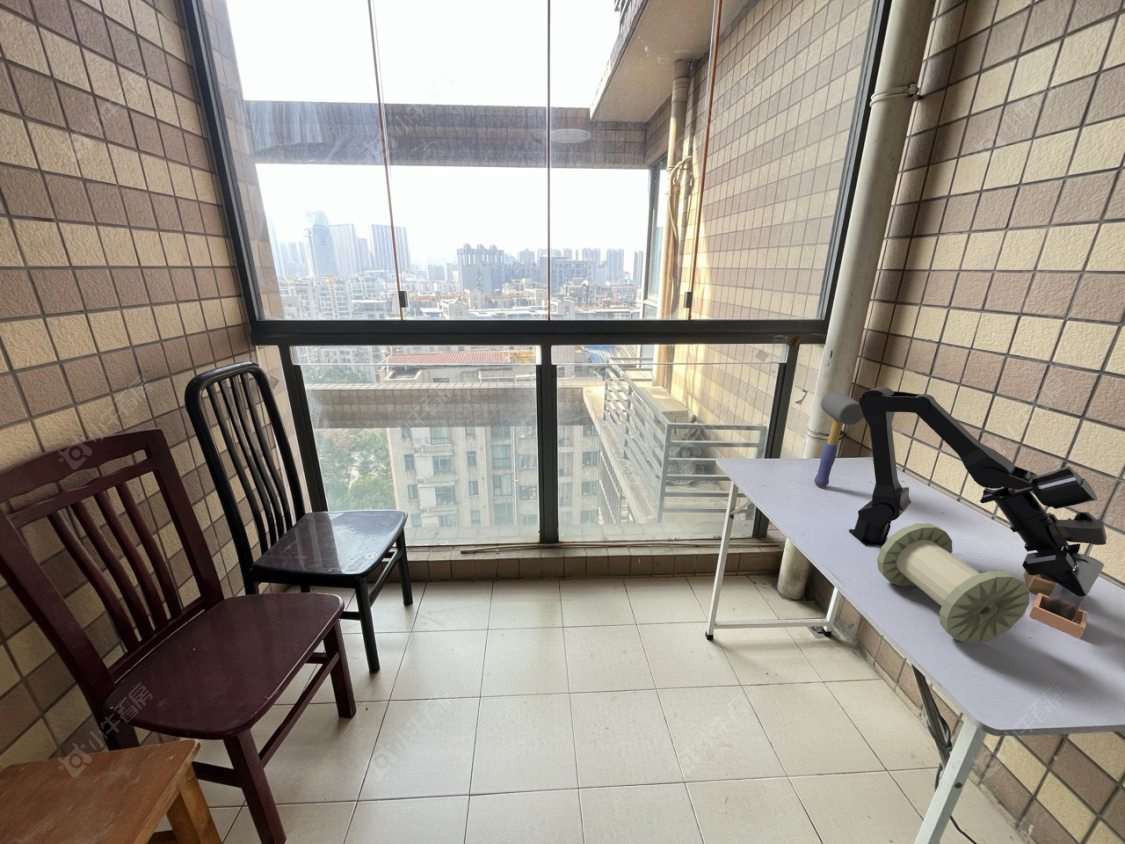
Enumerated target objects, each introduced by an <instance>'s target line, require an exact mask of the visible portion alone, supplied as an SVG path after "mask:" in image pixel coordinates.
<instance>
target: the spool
mask: <svg viewBox="0 0 1125 844" xmlns="http://www.w3.org/2000/svg"><path fill="white" fill-rule="evenodd" d="M952 553H953V540H952V539H951V537H950V535H949V534H948V533H947V531H945V530H944V529H943V528H941V527H938V526H936V525H934V524H932V523H927V522H925V523H924V522H922V523H920V522H919V523H916V522H915V523H914V524H911V525H907V526H905V527H902V528H900V530H898V531H896V532H895V533H894V534H892V535H891V536H890V537H888V539H886V542H885V544H884V545H883V546H881V548H880V550H879V553H878V555H877V558H876V562H877V569H878V572H879V573H880V574H881V575H882V576H883V577H884V579H886V580H887V581H888V582H889V583H891V584H893V585H897V586H899V587H908V585H909V587H911V586H910V585H914V586H916V587H918V588H919V589H920V590H921V591H923V592H924V593H925V594H926V595H927V596H929V597H930V598H931V599H932V600H933V601H934V602H936V603H937V604H938V605H939V606H941V608H940V610H939V624H940V625H941V627H942V628H943V629H944V631H945V632H946V633H947V634H948V635H949V636H951V637H952V638H953V640H954V639H955V640H957V641H959V642H962V643H967V644H968V643H969V644H970V643H983V642H986V641H988V640H989V641H990V640H993V639H994V638H997V637H999V636H1000V635H1003V634H1004V633H1006V632H1008V631H1009V630H1010V629H1012V628H1013V627H1014V626H1015V625H1016V624H1017V623H1018V622H1019V621H1020V620H1021V619H1022V617H1024V615H1025V613H1026V610H1027V609H1028V607H1029V605H1030V599H1031V598H1030V597H1031V593H1030V591H1029V589H1028V587H1027V586H1026V584H1025V581H1024V580H1022V579H1020V578H1019V577H1018V576H1015V575H1013V574H1011V573H1009V572H1006V571H1004V570H991V571H990V570H988V571H985V572H983V573H980V572H979V571H977V570H976V569H974V567H971V566H969V565H968V564H967V563H965V562H964V561H963V560H961V559H959V558H958V557H957V556H955V555H954V554H952Z"/></svg>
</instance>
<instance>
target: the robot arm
mask: <svg viewBox="0 0 1125 844" xmlns="http://www.w3.org/2000/svg"><path fill="white" fill-rule="evenodd" d="M858 403H859V406H860V409H861V412H862V415H863V418H864V420H865V422H866V424H867V425H868V428H869V434H870V436H869V437H870V443H871V444H870V445H871V451H872V452H871V453H872V461H873V471H874V480H875V484H874V489H873V491H872V495H871V496H872V497H871V500H870V501H869V502H867V503H866V504H865V505H864V506H862V507H861V508H860V509H859V510H858V511H857V514H858V517H857V520H856V523H855V527H854V528H853V529H852V528H850V529H848V532H849V533H850V534H851V535H853V537H854V538H856V539H857V540H858V541H860V542H861V543H862V544H863V545H864V546H867V547H869V546H870V547H871V546H872V547H873V546H875V547H876V546H877V547H878V546H881V547H882V546H883V545H884V544H885V542H886V541H887V540H888V539H887V538H888V535H889V533H890V531H891V530H890V529H891V528H892V526H891V525H892V524H891V523H892V521H896V520H897V519H898V518H899V517H901V516H902V515H903V514H904V513H905V512H906V510H907V509H908V507H909V505H911V504H912V501H911V499H910V496H909V495H910V487H908V486H906V487H905V486H904V487H903V486H902V485H901V483H900V482H899V478H898V470H897V460H896V452H895V443H894V442H895V441H894V435H893V434H894V433H893V426H892V425H893V420H894V417H895V413H910V414H911V413H912V414H916V416H918V417H919V418H920V419H921V420H922V421H923V422H925V424H926V425H927V426H928V427H929V428H930V429H931V430H933V431H934V432H935V433H936V434H937V435H938V436H939V437H940V438H941V439H942V440H943V441H944V442H945V443H946V445H948V446H949V447H950V448H951V449H952V450H953V451H954V452H955V453H956V454H957V455H958V457H959V458H960V460H961V461H962V464H963V466H964V468H965V470H966V471H967V472H968V474H969V475H970V476H971V478H972V480H973V481H974V482H975V483H976V484H977V485H978V486H980V487H982V488H984V489H983V490H982V497H981V498H980V500H979V502H980V503H981V504H987V503H990V502H994V503H995V504H996V506H997V507H998V508H999V509H1000V511H1001V512H1002V514H1003V515H1004V516H1005V517H1006V519H1007V520H1008V522H1009V523H1010V526H1009V529H1010V530H1011V532H1012V533H1017V534H1018V536H1020V538H1021V539H1022V541H1023V542H1024V549H1025V550H1026V551H1027V552H1029V553H1027V554H1026V556H1025V558H1024V560H1023V562H1022V567H1023V569H1024V571H1025V570H1026V572H1027V573H1028V574H1029V575H1039V574H1043V575H1045V576H1047V577H1048V578H1050V579H1052V580H1053V581H1055V582H1057V583H1058V584H1060V585H1061V586H1063V587H1064V588H1066V589H1068V590H1069V591H1071V592H1072V593H1074V594H1075V595H1077V596H1085V595H1086V594H1085V591H1084V589H1083V587H1082V585H1081V583H1080V581H1079V579H1078V577H1077V576H1076V574H1075V572H1074V570H1073V568H1074V567H1075V566H1076V563H1077V558H1076V559H1072V557H1071V556H1072V554H1073V553H1079V552H1080V549H1081V543H1082V544H1092V545H1093V546H1094V545H1095V546H1103V545H1104V546H1105V545H1106V544H1107V539H1108V537H1107V532H1106V529H1105V523H1104V521H1102V520H1101V518H1100V519H1099V518H1098V519H1096V518H1095V517H1094V516H1093V515H1092V514H1091V513H1090V512H1089V511H1078V512H1076V514H1075V515H1074V517H1073V518H1072V517H1070V518H1069V517H1068V518H1067V519H1058V518H1057V516H1056V515H1055V514H1054V513H1051V512H1047V511H1046V510H1045V508H1044V507H1045V506H1046V507H1047V508H1053V509H1055V510H1058V509H1063V508H1067V507H1072V506H1076V505H1080V504H1086V503H1089V502H1094V501H1098V496H1097V494H1096V493H1095V491H1094V489H1093V487H1092V486H1091V484H1089V482H1088V481H1087V479H1086V478H1083V477H1082V476H1081V475H1080V474H1079V473H1078V472H1076V471H1074V469H1073V468H1072V467H1071V466H1070V465H1068V466H1067V465H1066V466H1064V467H1060V468H1058V469H1057V470H1054V471H1050V472H1047V473H1041V474H1039V475H1038V473H1035V472H1034V471H1030V470H1027V469H1025V468H1022V467H1020V466H1017V465H1015V463H1013V461H1011V460H1010V459H1009V458H1007V457H1006V456H1005V455H1003V454H1001V453H1000V452H998V451H997V450H995V449H993V448H991V447H989V446H988V445H985V444H984V443H982V442H981V441H979V440H978V439H977V438H976V437H974V435H973V434H971V433H970V432H969V431H968V430H967V429H966V428H965V427H964V426H963V425H962V424H961V423H960V422H959V421H957V419H955V418H954V417H953V416H952V415H951V414H950V413H949V412H948V411H947V410H946V409H945V408H944V407H942V405H940V404H939V402H937V400H936V399H935V398H934V396H932V395H931V394H927V393H922V394H921V393H914V392H907V391H900V390H899V391H897V390H896V391H895V390H892V389H891V388H889V387H887V386H878V387H874V388H872V389H870V390H867V391H865V392H863V393H862V394H861V395H860V397H859V398H858ZM1042 505H1043V506H1044V507H1043V506H1042ZM1070 543H1073V544H1070ZM1033 551H1036V552H1033ZM1030 552H1031V553H1030Z"/></svg>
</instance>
